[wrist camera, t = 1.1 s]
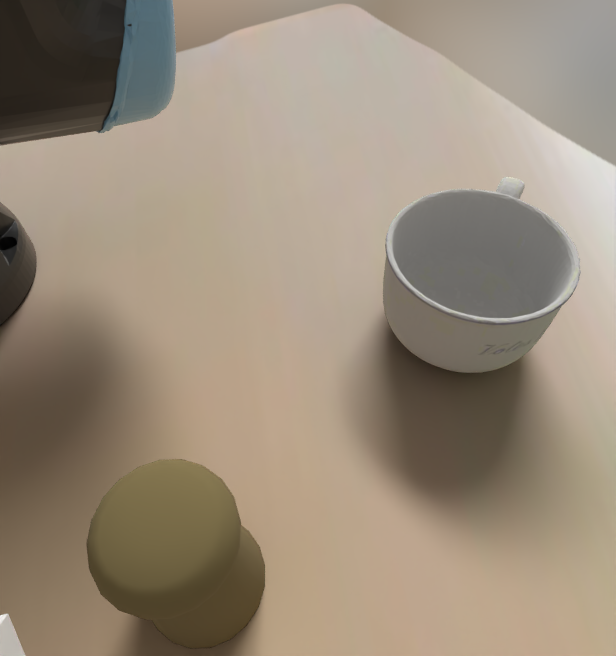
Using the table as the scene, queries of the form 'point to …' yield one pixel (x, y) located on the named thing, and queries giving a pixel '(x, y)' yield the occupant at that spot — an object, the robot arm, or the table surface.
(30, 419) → the table surface
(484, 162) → the table surface
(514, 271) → the teacup
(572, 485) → the table surface
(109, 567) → the olive pawn
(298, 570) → the table surface
